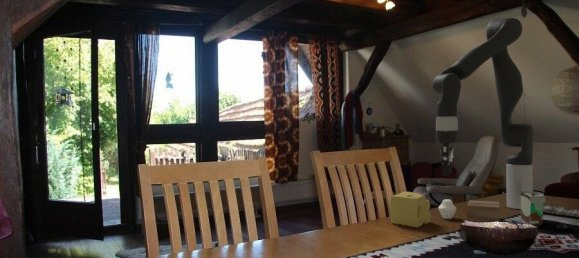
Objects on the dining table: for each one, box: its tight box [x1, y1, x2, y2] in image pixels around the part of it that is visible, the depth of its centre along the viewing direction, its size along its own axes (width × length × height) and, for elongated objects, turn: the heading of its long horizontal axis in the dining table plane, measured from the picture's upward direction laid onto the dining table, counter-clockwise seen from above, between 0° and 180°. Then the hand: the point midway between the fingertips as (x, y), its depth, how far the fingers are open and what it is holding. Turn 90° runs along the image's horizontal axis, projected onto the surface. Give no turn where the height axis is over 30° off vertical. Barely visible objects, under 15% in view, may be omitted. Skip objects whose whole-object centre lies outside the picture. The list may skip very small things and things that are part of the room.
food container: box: [520, 191, 547, 227], centre depth 150 cm, size 12×6×10 cm, turn 168°
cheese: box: [390, 191, 432, 228], centre depth 153 cm, size 10×11×10 cm
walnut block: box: [466, 200, 501, 222], centre depth 154 cm, size 10×10×6 cm
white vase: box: [438, 198, 457, 220], centre depth 159 cm, size 6×6×7 cm
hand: (447, 174), depth 159 cm, fingers open, 8 cm apart
